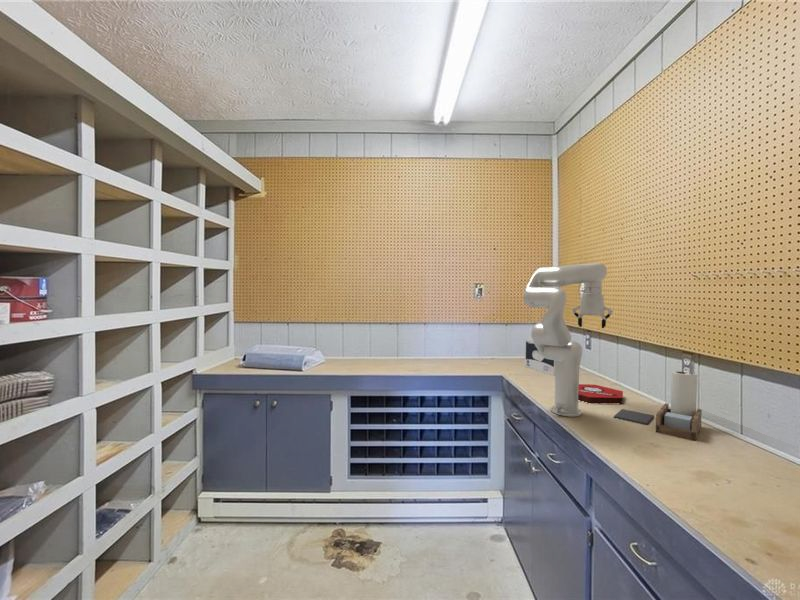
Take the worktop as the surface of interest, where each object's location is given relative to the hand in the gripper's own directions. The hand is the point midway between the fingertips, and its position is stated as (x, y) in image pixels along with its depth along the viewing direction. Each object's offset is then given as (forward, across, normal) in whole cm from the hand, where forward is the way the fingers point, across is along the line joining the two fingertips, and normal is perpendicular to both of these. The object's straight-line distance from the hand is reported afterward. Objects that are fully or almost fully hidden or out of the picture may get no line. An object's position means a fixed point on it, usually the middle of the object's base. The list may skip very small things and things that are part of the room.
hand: (591, 327), depth 183 cm
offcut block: (+36, +34, -20) cm, 54 cm away
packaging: (+36, -39, +64) cm, 83 cm away
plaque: (+37, -1, +14) cm, 39 cm away
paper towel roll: (+36, +35, -12) cm, 52 cm away
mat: (+36, +19, -12) cm, 42 cm away
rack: (+36, +34, -18) cm, 53 cm away
